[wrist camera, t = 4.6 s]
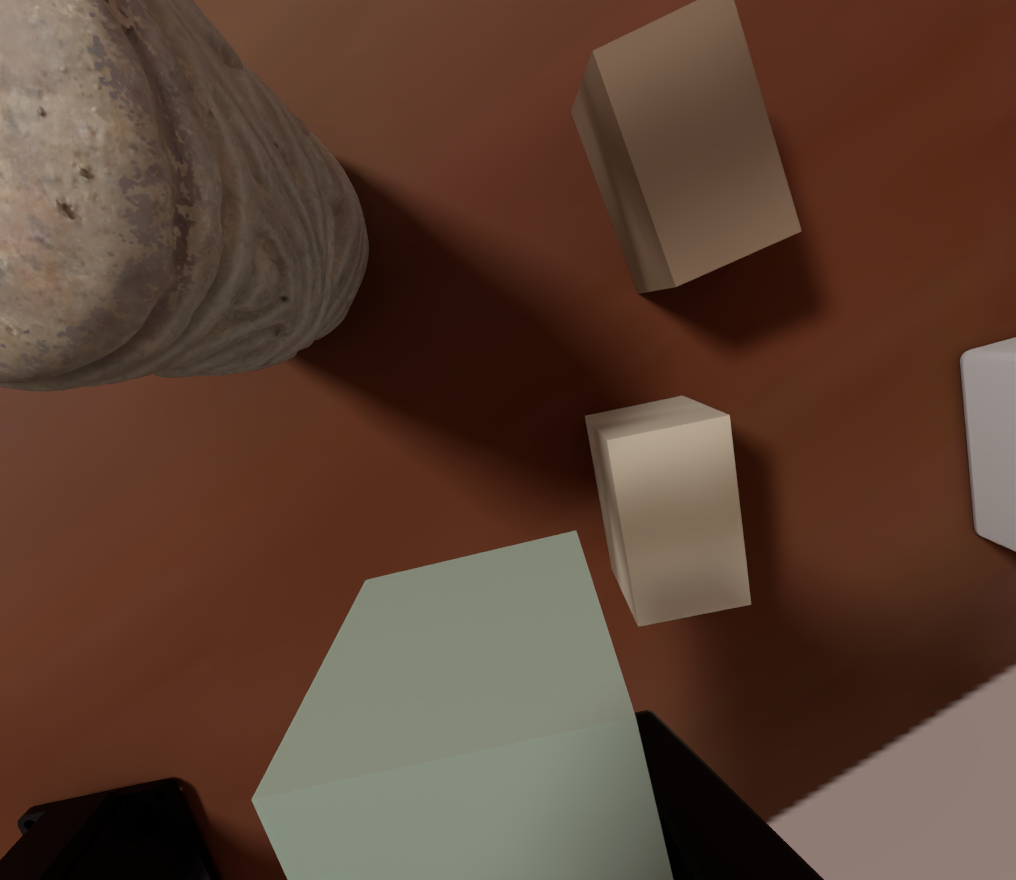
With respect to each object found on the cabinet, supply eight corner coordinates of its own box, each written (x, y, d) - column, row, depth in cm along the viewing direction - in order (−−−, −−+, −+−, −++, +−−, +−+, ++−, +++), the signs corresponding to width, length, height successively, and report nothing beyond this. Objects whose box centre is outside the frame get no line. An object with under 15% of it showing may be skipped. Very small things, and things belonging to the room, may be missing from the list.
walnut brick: (734, 250, 18) (801, 231, 14) (637, 294, 18) (676, 287, 14) (674, 63, 17) (729, -16, 13) (570, 113, 17) (592, 50, 13)
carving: (284, 394, 18) (-85, 525, 7) (133, 199, 17) (-672, -64, 5) (434, 288, 18) (310, 228, 6) (289, 75, 16) (-240, -542, 5)
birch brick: (702, 549, 20) (751, 604, 16) (611, 567, 20) (638, 626, 16) (681, 395, 19) (729, 415, 15) (584, 415, 19) (606, 440, 15)
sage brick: (646, 823, 10) (738, 1159, 6) (463, 861, 10) (436, 1208, 6) (576, 530, 8) (634, 717, 5) (365, 580, 9) (250, 799, 5)
